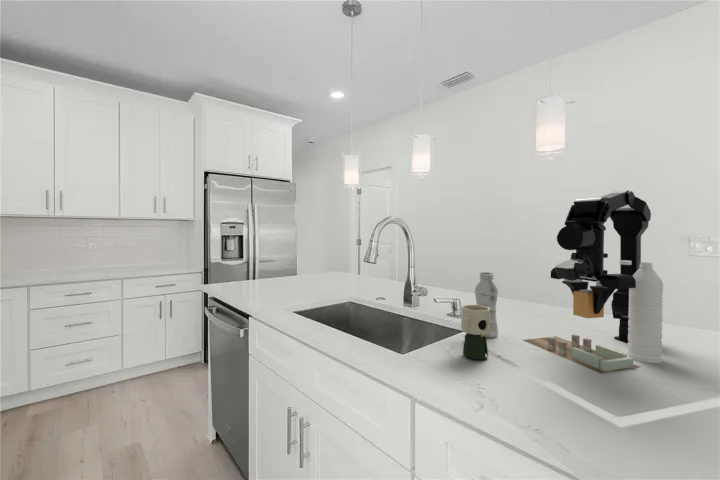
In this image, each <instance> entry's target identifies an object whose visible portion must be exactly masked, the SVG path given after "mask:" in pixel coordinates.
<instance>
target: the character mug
mask: <svg viewBox="0 0 720 480" xmlns="http://www.w3.org/2000/svg"><path fill="white" fill-rule="evenodd" d="M460 311H461V313H460V314H461V315H460V316H461V318H460V319H461V323H460V325H461V331H462V332H464V333H465V336H464V340H463V347H462V355H464V356H466V357H468V358H471V359H474V360H485V359H486V358H489V353H488V351H489V350H488V344H487V343H488V342H487V338H486V337H485V334H489V332H490V326H489V321H490V308H489V307H486V306H482V305H477V304H465V305H462V306H461V309H460Z"/></svg>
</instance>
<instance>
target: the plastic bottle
mask: <svg viewBox="0 0 720 480" xmlns="http://www.w3.org/2000/svg"><path fill="white" fill-rule="evenodd" d="M479 280H480V281H479V282H478V283H477V284H476V286H475V288H474V293H475V294H474V295H475V296H474V297H475V301H476V302H475V303H476V304H475V305H482V306H486V307H489V308H490V321H489V326H490V332H489V334H485V337H486V339H495V338H497V337H498V336H499V335H498V334H499V329H498V328H499V326H498V324H497V323H498V321H497V300H498V296H499V295H498V294H499V291H498V287H497V285H495V283H494V282H493V280H494V273H493V272H480V273H479Z"/></svg>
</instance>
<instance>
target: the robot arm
mask: <svg viewBox="0 0 720 480" xmlns="http://www.w3.org/2000/svg"><path fill="white" fill-rule="evenodd" d="M651 217H652V214H651V209H650V207H649V206H648V204H647V201H645V200H643V199H641V198H639V197H638V196H636V195H635V193H634V192H633V191H632V190H618V191H616V190H615V191H612V192H609V193H608V194H605V195H602V196H598V197H589V198H577V199H575V200H574V201H573V203H572V204H571V205H570V208H569V211H568V214H567V215H566V218H565V221H564V226H563V227H562V228H561V229H559V231H558V233H557V234H556V241H557V244H558V245H559V246H560V248H562V249H564V250H566V251H575V252H572V253H571V255H570V259H568V260H565V261H563V262H560V263H559V264H557V265H555V267H553V268H552V269H551V270H550V278H551V279H553V280H554V279H555V280H562V281H561V282H562V284H565V285H566V286H567V287H568V288H569V289H570V291H571V293H572V295H574V291H580V290H583V289H591V290H592V291H593V308H594V314H599V313H600V311H601V309H602V308H603V306H605V305H606V303H607V301H608V300H609V299H610V297H611V295H612V300H611V311H612V312H611V313H612V318H613V319H618V320H619V325H618V335H617V336H614V337H613V338H614V339H615V340H618V341H621V342H625V343H628V342H629V341H628V333H629V332H628V328H629V326H628V320H629V318H628V312H629V288H636V280H635V279H634V277H633V274H634V273H635V272H636V271H637V270H638V269H639V268H640V266H639V265H640V262H642V255H641V254H642V236H643V234H644V233H645V231H646V230H647V229H648V228H649V222H650V221H651ZM608 219H611V222H612V223H613V224H612V225H613V229H614V230H615V232H616V233H617V234H618V236H619V237H620V239H619V241H620V244H619V245H620V248H619V249H620V259H619V261H620V260H625V261H632V263H631V265H621V264H619V265H620V269H619V270H620V272H619V273H608V270H607V269H604V262H605V261H604V260H605V259H607V258H609V254H608V253H606V252H605V251H604V249H605V247H604V246H605V231H607V227H606V226H605V225H604V224H605V223H606V222H607V221H608ZM589 282H593V283H595V285H589ZM615 290H616V291H615Z"/></svg>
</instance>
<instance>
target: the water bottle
mask: <svg viewBox="0 0 720 480" xmlns="http://www.w3.org/2000/svg"><path fill="white" fill-rule="evenodd" d="M631 263H632V261H625V260H620V259H619V263H618V264H619V265H620V264H621V265H631ZM639 266H640V268H639V269H638V270H637V271H636V272H635V273H634V274H633V277H634V279H635V280H636V288H629V312H628V318H629V320H628V326H629V328H628V332H629V333H628V341H629V342H627V357H631V358H633V361H634V360H635V361H638V362H643V363H647V364H648V363H649V364H660V363H662V361H663V359H662V352H663V351H662V346H663V343H662V342H663V340H662V339H663V333H662V331H663V302H664V298H663V296H664V294H663V291H664V282H663V280H662V279H661V277H660V276H659V275H658V273H657V272H656V271H655V270H654V269H653V267H654V266H653V262H647V261H646V262H645V261H641V262H640V265H639Z"/></svg>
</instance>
